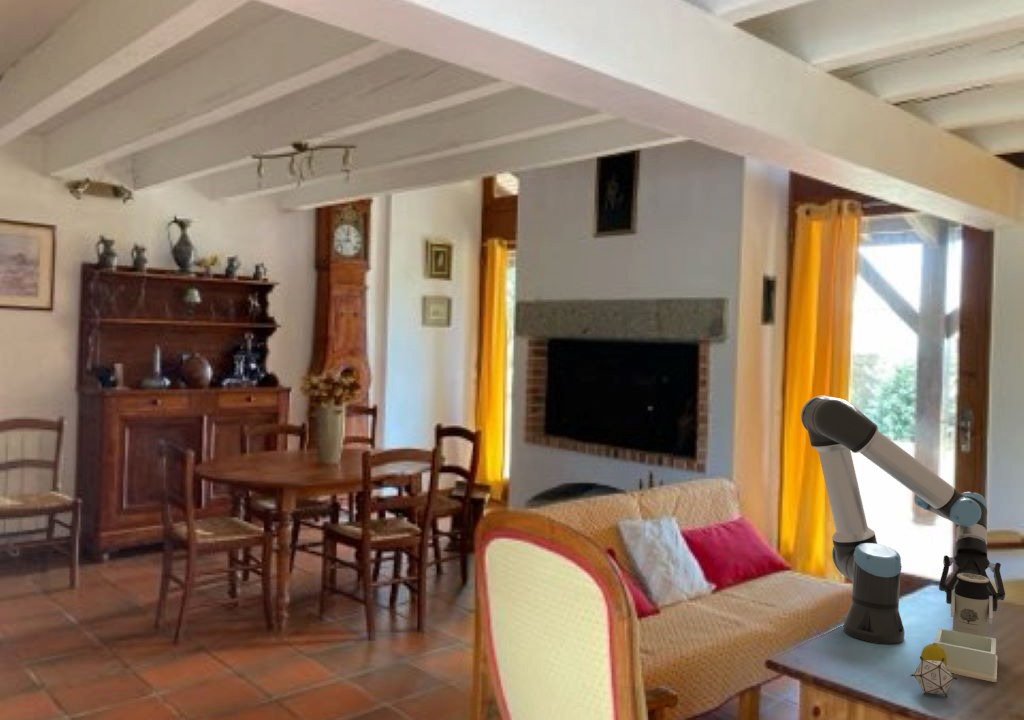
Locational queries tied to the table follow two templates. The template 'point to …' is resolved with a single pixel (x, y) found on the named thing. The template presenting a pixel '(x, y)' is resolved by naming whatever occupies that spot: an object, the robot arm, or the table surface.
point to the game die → (934, 676)
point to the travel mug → (971, 604)
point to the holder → (969, 654)
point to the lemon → (934, 653)
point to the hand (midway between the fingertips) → (971, 617)
